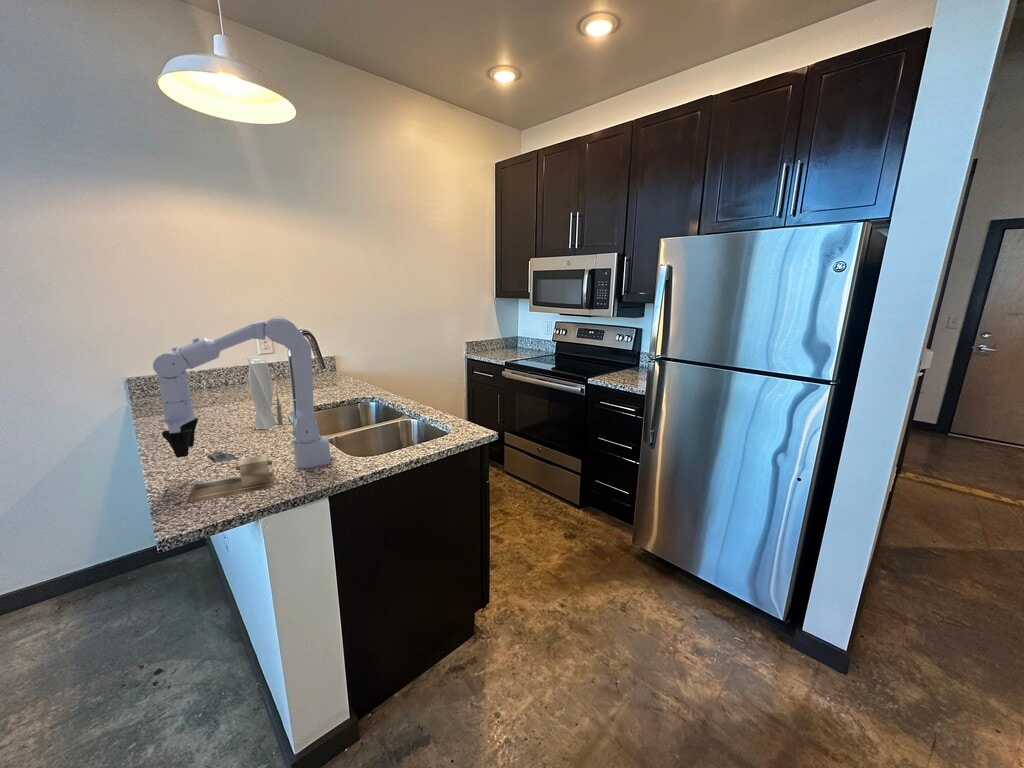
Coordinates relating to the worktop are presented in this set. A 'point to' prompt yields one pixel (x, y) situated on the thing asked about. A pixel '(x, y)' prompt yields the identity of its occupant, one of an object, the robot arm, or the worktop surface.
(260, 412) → the skyscraper
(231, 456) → the driftwood
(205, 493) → the board
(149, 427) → the worktop surface
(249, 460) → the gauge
